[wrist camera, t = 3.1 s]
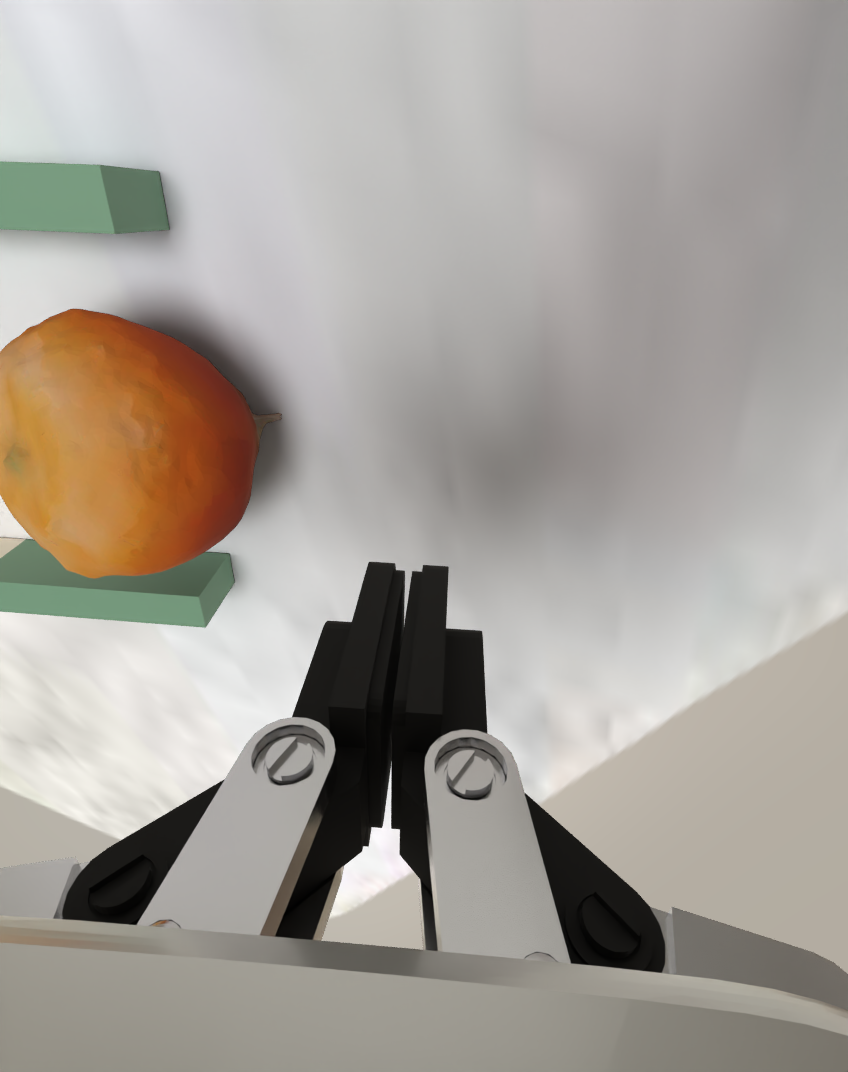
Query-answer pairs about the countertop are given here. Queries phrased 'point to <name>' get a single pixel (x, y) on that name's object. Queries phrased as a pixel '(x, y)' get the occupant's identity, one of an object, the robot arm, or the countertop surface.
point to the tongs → (23, 565)
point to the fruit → (121, 445)
